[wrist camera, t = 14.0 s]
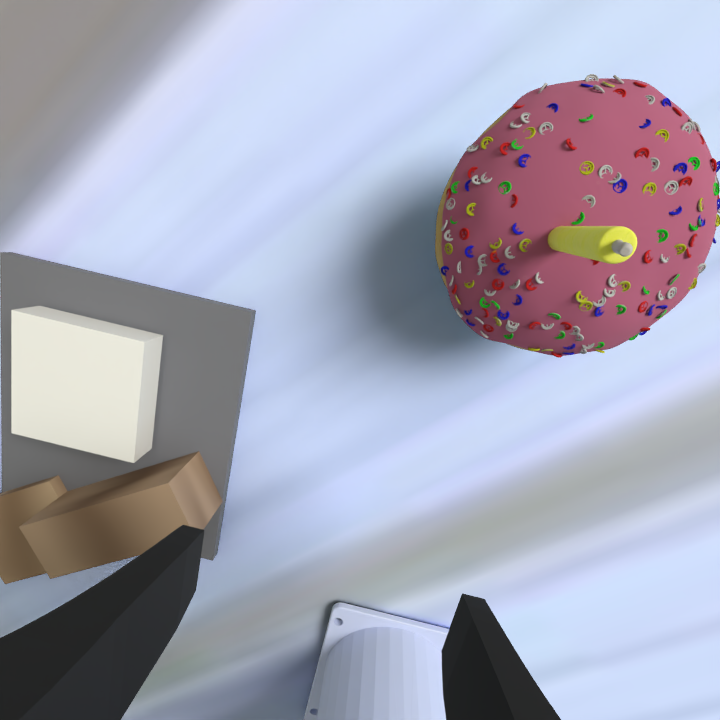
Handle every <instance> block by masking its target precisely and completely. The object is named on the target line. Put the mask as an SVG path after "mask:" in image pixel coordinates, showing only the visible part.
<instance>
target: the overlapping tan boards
mask: <svg viewBox="0 0 720 720" xmlns="http://www.w3.org/2000/svg"><path fill="white" fill-rule="evenodd" d="M222 502H223V501H222V499H221V496H220V494H219V492H218V490H217V488H216V486H215V484H214V482H213V480H212V477H211V475H210V473H209V471H208V469H207V467H206V465H205V463H204V461H203V458H202V456H201V454H200V452H199V451H198V452H195V453H191V454H188V455H185V456H182V457H178V458H175V459H172V460H168V461H165V462H162V463H159V464H155V465H152V466H149V467H145V468H142V469H139V470H135V471H132V472H129V473H126V474H122V475H119V476H116V477H112V478H109V479H106V480H103V481H99V482H96V483H93V484H89V485H86V486H83V487H80V488H76V489H73V490H70V491H67V489H66V487H65V486H64V484H63V482H62V480H61V479H60V477H59V475H57V476H54V477H51V478H48V479H44V480H41V481H38V482H35V483H32V484H28V485H25V486H22V487H19V488H16V489H12V490H9V491H6V492H3V493H0V577H1V578H2V580H3V582H4V583H5V584H8V583H11V582H15V581H19V580H22V579H26V578H30V577H33V576H37V575H41V574H45V573H47V574H48V576H49V577H50V579H52V578H55V577H59V576H63V575H67V574H70V573H74V572H78V571H82V570H85V569H89V568H93V567H97V566H100V565H104V564H108V563H111V562H115V561H119V560H123V559H126V558H130V557H134V556H138V555H141V554H142V553H144V552H145V551H147V550H148V549H149V548H151V547H152V546H154V545H155V544H156V543H158V542H159V541H161V540H162V539H163V538H165V537H166V536H167V535H169V534H170V533H171V532H173V531H174V530H176V529H177V528H178V527H180V526H182V525H187V526H191V527H195V528H199V529H203V530H204V528H205V527H206V525H207V524H208V522H209V521H210V519H211V518H212V516H213V515H214V513H215V512H216V510H217V509H218V508H219V506H220V505H221V503H222Z"/></svg>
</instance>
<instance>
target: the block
mask: <svg viewBox="0 0 720 720" xmlns="http://www.w3.org/2000/svg"><path fill="white" fill-rule="evenodd" d="M162 341H163V335H160V334H156V333H152V332H147V331H143V330H139V329H135V328H131V327H127V326H122V325H118V324H114V323H110V322H106V321H102V320H98V319H93V318H89V317H85V316H81V315H77V314H73V313H68V312H64V311H60V310H56V309H52V308H48V307H43V306H34V307H27V308H21V309H14V310H11V433H13V434H17V435H21V436H25V437H29V438H33V439H37V440H41V441H45V442H50V443H54V444H58V445H62V446H66V447H70V448H74V449H78V450H82V451H86V452H90V453H94V454H99V455H103V456H107V457H111V458H115V459H119V460H123V461H127V462H131V463H135V462H136V461H137V460H138V459H140V458H141V457H142V456H143V455H144V454H146V453H147V452H148V451H149V450H151V449H152V441H153V431H154V421H155V411H156V401H157V391H158V381H159V371H160V361H161V351H162Z"/></svg>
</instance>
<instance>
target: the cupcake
mask: <svg viewBox="0 0 720 720" xmlns="http://www.w3.org/2000/svg"><path fill="white" fill-rule="evenodd" d="M613 77H614V78H615V79H598V77H597V76H596V75H594V74H590V75H588V76H587V77H586V78H585V80H581V81H574V82H567V83H560V84H554V85H549V86H547V83H545V84H544V85H543V86H542V87H541V88H538V89H535V90H533V91H531V92H529V93H527V94H525V95H524V96H522V97H521V98H520V99H519V100H518V101H517V102H516V103H515V104H514V105H513V106H512V107H511V108H510V109H509V110H507V111H506V112H505V113H504V114H503V115H502V116H500V117H499V118H498V119H497V120H496V121H495V122H494V123H493V124H492V125H491V126H490V127H489V128H487V129H486V130H485V131H484V132H483V134H482V135H481V136H480V137H479V138H478V139H477V140H476V141H475V142H474V143H473V144H472V145H471V146H469V147H468V148H467V151H466V152H465V153H464V155H463V156H462V158H461V159H460V161H459V163H458V165H457V166H456V168H455V170H454V171H453V173H452V175H451V177H450V179H449V181H448V183H447V185H446V188H445V190H444V192H443V195H442V198H441V201H440V205H439V209H438V214H437V221H436V240H435V254H436V260H437V263H438V267H439V270H440V273H441V276H442V279H443V281H444V284H445V286H446V287H447V289H448V292H449V296H450V300H451V302H452V305H453V307H454V309H455V311H456V312H457V314H458V316H459V317H461V319H462V320H463V321H464V322H465V323H466V324H467V325H468V326H469V327H470V328H471V329H472V330H473V331H475V332H476V333H477V334H479V335H480V336H482V337H484V338H486V339H489V340H492V341H497V342H502V343H506V344H509V345H511V346H514V347H517V348H521V349H525V350H530V351H534V352H539V353H543V354H548V355H554V356H556V357H562V356H564V355H573V354H578V353H582V354H585V353H587V352H591V351H597V352H601V353H605V352H604V351H602V350H606V349H611V348H613V347H616V346H618V345H620V344H622V343H624V342H625V341H627V340H634V339H635V338H636V337H637V336H638V334H639V335H644V334H645V333H646V332H647V331H649V330H650V328H648V327H650V326H651V325H652V324H654V323H655V322H656V321H658V320H659V319H660V318H661V317H663V316H664V315H665V314H666V313H668V312H669V311H670V310H671V309H673V308H674V307H675V306H676V305H677V304H678V303H679V302H680V301H681V300H682V299H683V298H684V297H685V296H686V295H687V293H688V292H689V291H690V289H693V288H695V286H696V284H697V277H698V275H699V273H701V272H702V271H703V270H704V269H705V268H706V264H705V263H704V262H705V260H706V257H707V255H708V253H709V250H710V247H711V244H712V241H713V243H716V241H715V239H714V234H715V230H716V227H717V226H719V225H720V217H719V215H718V214H717V212H718V213H720V209H719V208H720V198H719V182H718V179H717V175H716V172H717V171H718V170H719V169H720V161H718V162H717V163H716V160H715V159H713V158H712V157H711V154H710V152H709V149H708V147H707V144H706V142H705V140H704V138H703V136H702V134H701V133H700V127H699V125H698V124H697V123H696V122H693V121H692V119H690V118H689V116H688V115H687V114H686V113H685V112H684V111H683V110H681V109H680V108H679V107H678V106H677V105H676V104H674V103H673V102H672V101H670V100H669V99H668V98H666V97H665V96H664V95H663V94H661V93H660V92H659V91H658V90H657V89H655V88H654V87H652V86H651V85H649V84H647V83H645V82H642V81H638V80H630V79H619V78H618V77H617V76H616V75H614V76H613ZM589 78H592V79H590V80H588V79H589ZM593 78H594V79H593ZM717 165H719V166H718V167H717ZM718 202H719V204H718ZM717 221H718V223H717ZM702 266H703V268H702ZM641 332H642V333H641Z"/></svg>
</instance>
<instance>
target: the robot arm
mask: <svg viewBox="0 0 720 720" xmlns="http://www.w3.org/2000/svg"><path fill="white" fill-rule="evenodd" d="M204 531H205V530H203V529H199V528H195V527H191V526H187V525H182V526H180V527H178V528H177V529H176V530H174V531H173V532H171V533H170V534H169V535H167V536H166V537H165V538H163V539H162V540H161V541H159V542H158V543H156V544H155V545H154V546H152V547H151V548H149V549H148V550H147V551H145V552H144V553H142V554H141V555H140V556H138V557H137V558H135V559H134V560H132V561H131V562H129V563H128V564H126V565H125V566H123V567H122V568H121V569H119V570H118V571H116V572H115V573H113V574H112V575H110V576H109V577H107V578H106V579H104V580H102V581H101V582H99V583H98V584H96V585H94V586H93V587H91V588H90V589H88V590H86V591H85V592H83V593H82V594H80V595H78V596H77V597H75V598H73V599H72V600H70V601H68V602H67V603H65V604H63V605H62V606H60V607H58V608H56V609H55V610H53V611H51V612H49V613H48V614H46V615H44V616H42V617H40V618H38V619H37V620H35V621H33V622H31V623H29V624H27V625H25V626H23V627H22V628H20V629H18V630H16V631H14V632H12V633H10V634H8V635H6V636H4V637H2V638H0V720H121V718H122V717H123V715H124V713H125V712H126V710H127V709H128V707H129V705H130V704H131V702H132V701H133V699H134V697H135V696H136V694H137V693H138V691H139V689H140V688H141V686H142V685H143V683H144V681H145V680H146V678H147V677H148V675H149V673H150V672H151V670H152V668H153V667H154V665H155V664H156V662H157V660H158V659H159V657H160V656H161V654H162V652H163V651H164V649H165V647H166V646H167V644H168V643H169V641H170V639H171V638H172V636H173V634H174V633H175V631H176V629H177V628H178V626H179V624H180V622H181V620H182V618H183V616H184V614H185V612H186V609H187V607H188V605H189V603H190V601H191V599H192V597H193V595H194V593H195V591H196V586H197V579H198V572H199V565H200V559H201V552H202V545H203V538H204ZM336 618H340V619H341V620H338V619H336ZM304 720H561V719H560V717H559V716H558V715H557V713H556V712H555V710H554V709H553V707H552V706H551V705H550V703H549V702H548V700H547V699H546V697H545V696H544V694H543V693H542V691H541V690H540V688H539V687H538V685H537V684H536V682H535V681H534V679H533V678H532V676H531V675H530V673H529V671H528V670H527V668H526V667H525V665H524V664H523V662H522V660H521V659H520V657H519V656H518V654H517V652H516V651H515V649H514V647H513V646H512V644H511V643H510V641H509V639H508V638H507V636H506V634H505V633H504V631H503V629H502V628H501V626H500V624H499V623H498V621H497V619H496V618H495V616H494V614H493V613H492V611H491V609H490V608H489V606H488V604H487V603H486V601H485V599H482V598H478V597H474V596H470V595H466V594H462V596H461V598H460V601H459V604H458V607H457V609H456V612H455V615H454V618H453V621H452V623H451V626H450V629H447V628H443V627H439V626H435V625H431V624H427V623H423V622H419V621H415V620H410V619H406V618H402V617H398V616H394V615H390V614H386V613H382V612H378V611H374V610H370V609H366V608H362V607H358V606H354V605H350V604H346V603H341V602H339V603H336V604H334V605H333V607H332V611H331V615H330V618H329V622H328V626H327V630H326V634H325V638H324V642H323V645H322V649H321V653H320V657H319V661H318V665H317V668H316V672H315V676H314V680H313V684H312V688H311V692H310V695H309V699H308V703H307V707H306V711H305V715H304Z"/></svg>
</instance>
